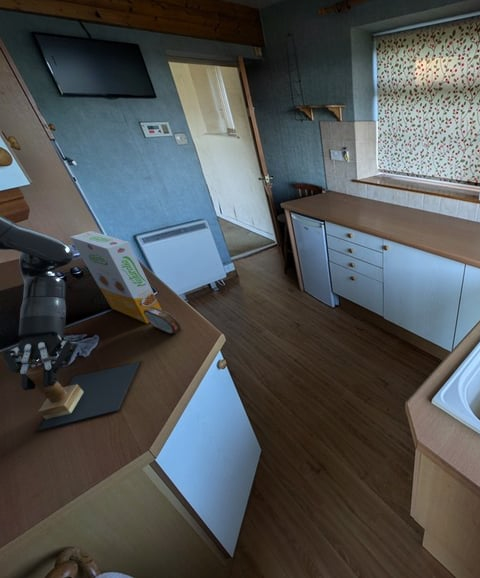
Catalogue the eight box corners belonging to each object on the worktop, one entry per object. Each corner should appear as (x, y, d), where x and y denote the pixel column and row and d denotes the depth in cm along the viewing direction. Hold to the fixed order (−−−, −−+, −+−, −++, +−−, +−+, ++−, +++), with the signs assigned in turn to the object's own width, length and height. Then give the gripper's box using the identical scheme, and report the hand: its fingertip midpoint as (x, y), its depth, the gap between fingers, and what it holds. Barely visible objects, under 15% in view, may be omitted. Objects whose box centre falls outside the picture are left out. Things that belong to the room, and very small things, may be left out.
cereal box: (163, 314, 113) (129, 241, 97) (146, 323, 108) (107, 248, 92) (128, 300, 120) (91, 230, 105) (111, 308, 116) (69, 236, 100)
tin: (184, 332, 104) (175, 313, 99) (175, 338, 101) (166, 319, 97) (157, 321, 109) (148, 302, 104) (148, 326, 106) (138, 307, 102)
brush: (45, 419, 73) (11, 383, 66) (60, 397, 78) (30, 362, 71) (71, 413, 74) (40, 377, 67) (83, 392, 80) (56, 357, 73)
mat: (39, 430, 72) (38, 429, 72) (74, 377, 86) (74, 376, 86) (118, 411, 77) (117, 410, 77) (139, 363, 91) (138, 362, 91)
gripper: (-9, 319, 68) (-16, 396, 65) (65, 310, 71) (62, 383, 68) (22, 323, 75) (17, 392, 72) (88, 315, 79) (86, 381, 75)
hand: (39, 387), depth 70 cm, fingers closed on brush, 3 cm apart
